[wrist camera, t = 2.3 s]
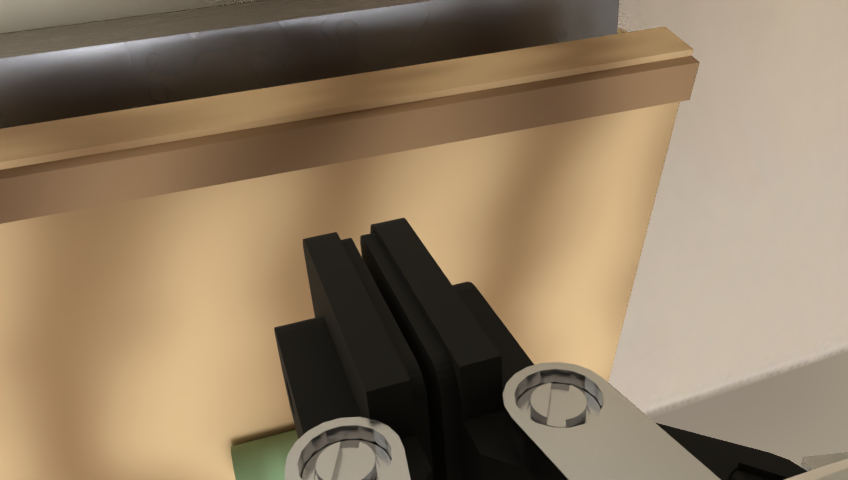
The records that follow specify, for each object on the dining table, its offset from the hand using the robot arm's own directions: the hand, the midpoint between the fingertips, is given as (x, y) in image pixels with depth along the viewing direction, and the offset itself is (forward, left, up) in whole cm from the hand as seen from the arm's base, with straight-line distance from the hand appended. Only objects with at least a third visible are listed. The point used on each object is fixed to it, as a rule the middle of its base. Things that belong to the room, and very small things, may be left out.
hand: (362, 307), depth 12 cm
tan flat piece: (-1, +7, -11) cm, 13 cm away
